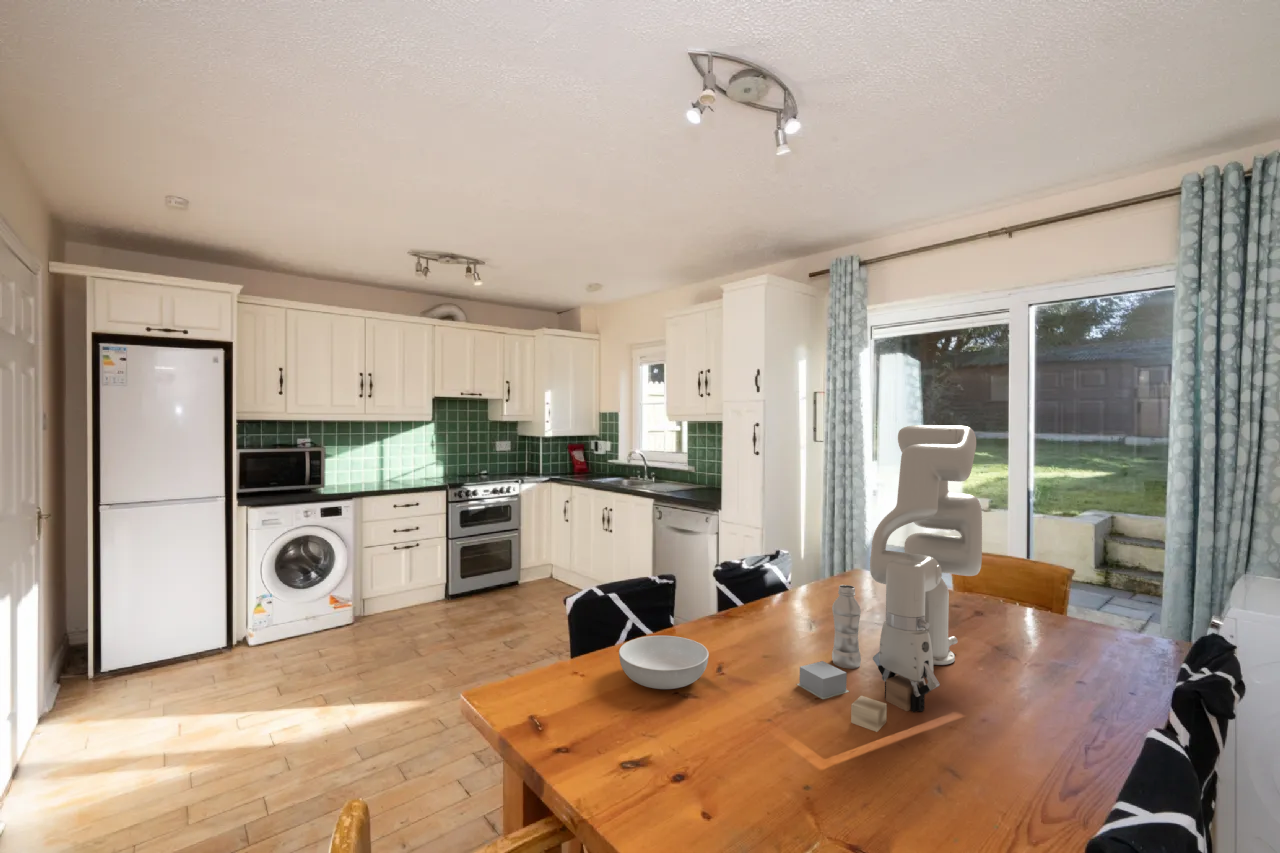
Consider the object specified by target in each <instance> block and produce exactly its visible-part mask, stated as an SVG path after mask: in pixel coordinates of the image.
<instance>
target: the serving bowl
mask: <svg viewBox="0 0 1280 853" xmlns="http://www.w3.org/2000/svg"><path fill="white" fill-rule="evenodd" d="M709 655H710V653H709V650H708V649H707V647H706V646H704V644H702V643H700V642H697V641H695V640H694V639H689V638H686V637H682V636H681V637H680V636H673V635H648V636H641V637H637V638H635V639H631V640H629V641H627V642H625V643H623V644H622V645H621V646H620V648H619V649H618V656H619V657H618V658H619V662H620V665H621V668H622V670H623V672H624V673H625V674H626V675H627V677H628V678H629V679H631V681H633V682H634V683H637V684H638V685H641V686H644V687H646V688H650V689H651V688H652V689H655V690H656V689H657V690H674V689H680V688H683V687H687V686H689V685H691V684H693V683H694V682H696V681H697V680H698V679H700V678H701V677H702V675H703V674H704V673H705V670H706V669H707V666H708V662H709Z"/></svg>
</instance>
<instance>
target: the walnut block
mask: <svg viewBox="0 0 1280 853" xmlns="http://www.w3.org/2000/svg"><path fill="white" fill-rule="evenodd" d="M918 685H919V682H918ZM919 688H920V685H919ZM913 694H914V692H913V688H912V684H911V680H909V679H907V678H905V677H902V676H900V675H898V674H897V675H896V676H894V677H891V678H888V679H886V698H885V701H886V702H887V703H889V704H891V705H894V706H895V707H897V708H899V709H901V710H903V711H905V712H908V711H911V695H913Z"/></svg>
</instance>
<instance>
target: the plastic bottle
mask: <svg viewBox="0 0 1280 853" xmlns="http://www.w3.org/2000/svg"><path fill="white" fill-rule="evenodd" d="M837 592H838V597H837V598H836V599H835V600H834V602H833V603H832V615H833V622H834V623H833V624H834V626H833V627H834V640H833V647H832V650H831V651H832V652H831V658H832V663H833V664H834V666H837V667H839V668H842V669H843V668H844V669H848V670H849V669H858V668H860V666H861V661H862V657H861V651H860V644H859V629H860V628H859V627H860V626H859V625H860V618H861V613H862V611H861V610H862V609H861V606H860V604H859V602H858V600H856V598H855V596H856V588H855V586H853V585H850V584H849V585H848V584H840V585H838V591H837Z"/></svg>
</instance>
